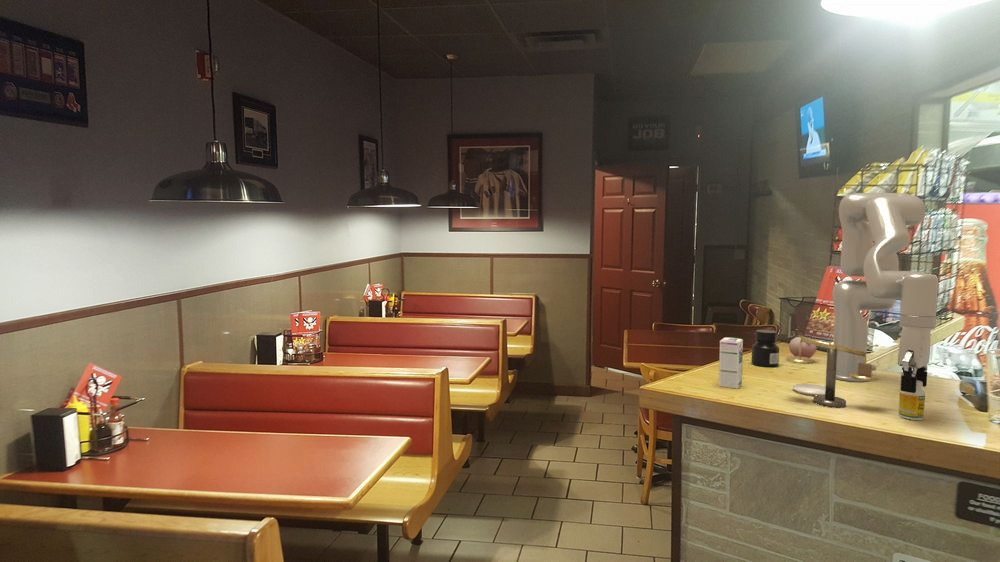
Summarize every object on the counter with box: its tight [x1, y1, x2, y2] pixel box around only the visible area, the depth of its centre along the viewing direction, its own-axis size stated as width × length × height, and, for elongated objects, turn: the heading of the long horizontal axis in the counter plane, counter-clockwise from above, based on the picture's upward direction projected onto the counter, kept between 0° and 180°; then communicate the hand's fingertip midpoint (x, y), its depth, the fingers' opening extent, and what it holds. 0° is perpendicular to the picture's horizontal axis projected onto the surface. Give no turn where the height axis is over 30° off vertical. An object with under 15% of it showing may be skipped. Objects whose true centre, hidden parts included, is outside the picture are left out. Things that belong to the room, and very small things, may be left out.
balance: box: [785, 336, 881, 409], centre depth 169 cm, size 8×23×18 cm, turn 62°
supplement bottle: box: [898, 380, 926, 421], centre depth 157 cm, size 5×5×10 cm
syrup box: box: [718, 337, 744, 390], centre depth 188 cm, size 6×6×14 cm
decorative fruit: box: [788, 333, 817, 359], centre depth 223 cm, size 9×8×10 cm
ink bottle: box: [751, 329, 780, 368], centre depth 217 cm, size 10×9×12 cm
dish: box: [791, 383, 826, 396], centre depth 182 cm, size 11×11×1 cm
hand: (913, 388), depth 156 cm, fingers open, 9 cm apart
